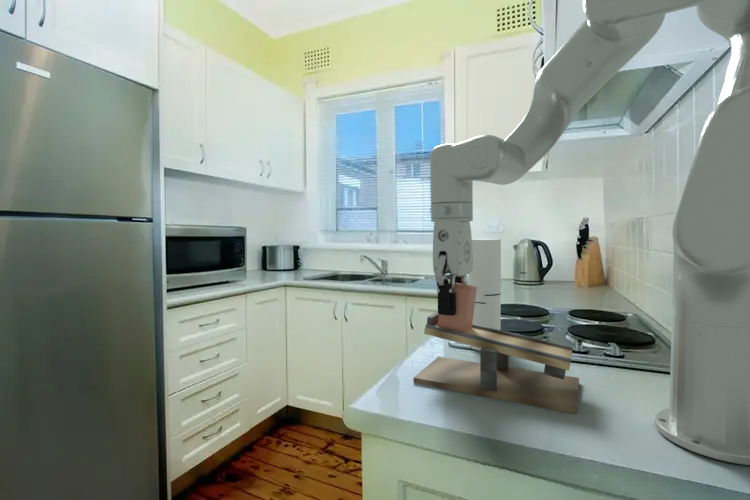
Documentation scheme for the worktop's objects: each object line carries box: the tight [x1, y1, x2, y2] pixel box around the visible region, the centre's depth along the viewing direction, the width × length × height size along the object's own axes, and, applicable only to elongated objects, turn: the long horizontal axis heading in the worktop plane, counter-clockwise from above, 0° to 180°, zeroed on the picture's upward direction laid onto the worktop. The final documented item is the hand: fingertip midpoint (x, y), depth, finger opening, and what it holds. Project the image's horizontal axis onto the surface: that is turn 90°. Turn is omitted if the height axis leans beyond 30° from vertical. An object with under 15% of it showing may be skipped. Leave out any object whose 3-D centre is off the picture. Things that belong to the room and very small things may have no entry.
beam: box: [423, 311, 574, 380], centre depth 70 cm, size 24×8×5 cm, turn 61°
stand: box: [413, 348, 580, 415], centre depth 70 cm, size 26×13×8 cm, turn 61°
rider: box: [438, 282, 477, 333], centre depth 73 cm, size 5×5×8 cm
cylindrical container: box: [468, 238, 502, 352], centre depth 92 cm, size 7×7×25 cm
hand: (452, 310), depth 74 cm, fingers open, 5 cm apart
